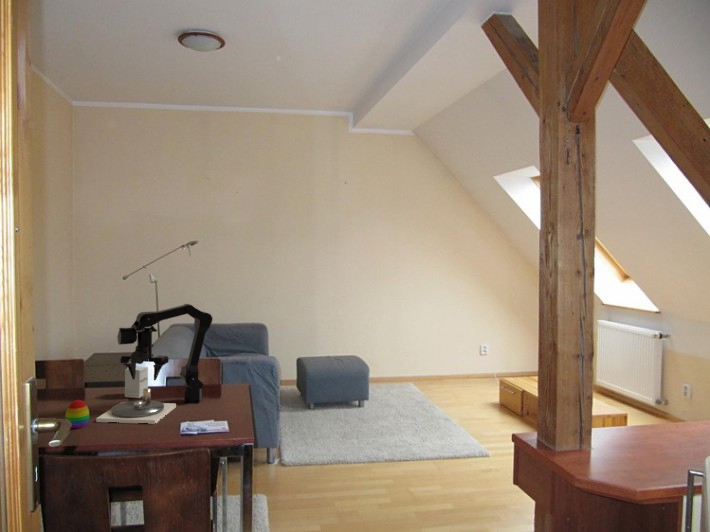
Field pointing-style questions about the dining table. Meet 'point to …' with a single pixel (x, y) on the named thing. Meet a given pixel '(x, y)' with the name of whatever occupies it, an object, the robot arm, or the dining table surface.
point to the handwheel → (138, 406)
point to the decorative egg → (77, 414)
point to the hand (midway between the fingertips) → (144, 379)
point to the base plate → (145, 419)
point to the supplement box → (136, 382)
